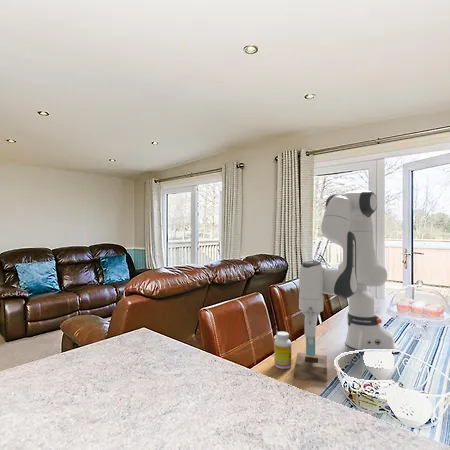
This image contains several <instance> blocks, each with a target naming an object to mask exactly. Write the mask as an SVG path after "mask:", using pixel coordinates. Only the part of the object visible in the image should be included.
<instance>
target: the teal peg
mask: <svg viewBox="0 0 450 450" xmlns="http://www.w3.org/2000/svg"><path fill="white" fill-rule="evenodd" d="M305 353H306V355H309V356H315V354H316V337H315V338H313V345H310V344H308V337H305Z"/></svg>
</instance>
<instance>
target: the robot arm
mask: <svg viewBox="0 0 450 450" xmlns="http://www.w3.org/2000/svg"><path fill="white" fill-rule="evenodd" d="M377 209H378V198H377V195H376V194H375V193H374V191H372V190H371V191H370V190H353V191H347V192H341V193H333V194H330V195H329V196H328V197H327V199H326V201H325V211H324V213H323V217H322V221H321V225H320V226H321V227H320V230H321V233H322V235H323V236H324V238H325V239H326V240H328V241H330V242H331V243H332V244H336V245H338V246H340V247H341V248H342V261H341V262H340V263H339V264H338V267H337V269H330V268H325V267H323V265H322V263H321V262H320V261H318V260H317V261H316V260H309V261H305V262H302V263H301V264H300V268H299V274H298V275H299V276H298V277H299V279H298V280H299V281H298V286H299V294H298V309H299V310H300V311H302V312H301V313H302V314H303V315H304V337H305V338H306V337H308V344H310V345H313V338H315V339H316V335H317V334H316V333H317V332H316V331H317V322H318V316H320V315H321V312H324V294H325V295H330V296H331V295H333V296H336V297H339V298H343V299H347V301H348V311H347V317H346V319H347V321H346V322H347V332H346V333H347V334H346V337H345V341H344V343H345V345H347V346H348V347H350V348H352V349H355V350H358V351H359V350H363V349H397V350H400V347H399V344H397V343H396V342H394V337H393V335H392V333H391V331H389V330H388V329H387V328H385V327H384V326H382V325H381V323H382V322H383V321H382V319H381V318H380V317H379V316H378V315H376V314H375V298H374V295H373V294H371V292H370V290H369V289H368V287H369V288H372V287H373V288H378V287H382V286H384V285H385V283H386V282H387V279H388V272H387V269H386V268H385V266H383V264H382V263H381V262H380V260H379V259H378V256H377V254H376V251H375V250H376V249H375V245H374V232H373V231H374V225H373V220H372V219H373V218H372V215H373V214H374V213H375V211H376V210H377Z"/></svg>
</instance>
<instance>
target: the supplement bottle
mask: <svg viewBox="0 0 450 450" xmlns="http://www.w3.org/2000/svg"><path fill="white" fill-rule="evenodd" d="M289 338H290V334H289V333H288V332H287V331H277V332H276V338H275V340H274V343H273V344H274V346H273V347H274V350H273V351H274V356H273V357H274V359H273V361H274V367H276V368H277V369H281V370H288V369H290V368H291V367H292V341H291V340H290V339H289Z"/></svg>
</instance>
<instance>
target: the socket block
mask: <svg viewBox="0 0 450 450" xmlns="http://www.w3.org/2000/svg"><path fill="white" fill-rule="evenodd" d="M327 358H328V355H323V354H317V353H315V356H309V355H306V352H297V354H296V358H295V363H294V364H295V365H294V370H295V371H294V375H295V379H300V380H301V379H302V380H309V381H315V382H323V383H327V382H328V359H327Z"/></svg>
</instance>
